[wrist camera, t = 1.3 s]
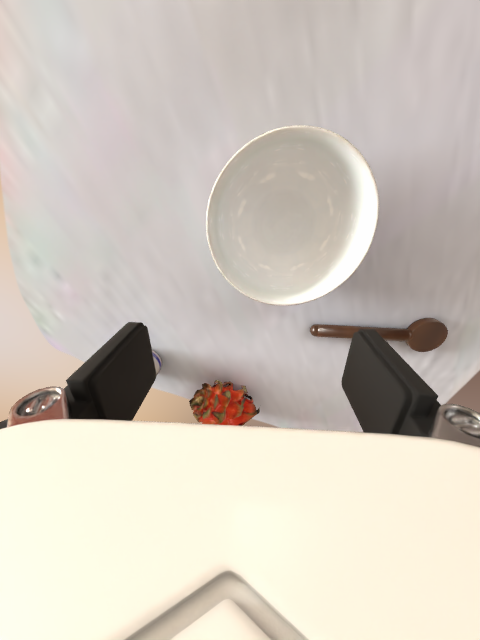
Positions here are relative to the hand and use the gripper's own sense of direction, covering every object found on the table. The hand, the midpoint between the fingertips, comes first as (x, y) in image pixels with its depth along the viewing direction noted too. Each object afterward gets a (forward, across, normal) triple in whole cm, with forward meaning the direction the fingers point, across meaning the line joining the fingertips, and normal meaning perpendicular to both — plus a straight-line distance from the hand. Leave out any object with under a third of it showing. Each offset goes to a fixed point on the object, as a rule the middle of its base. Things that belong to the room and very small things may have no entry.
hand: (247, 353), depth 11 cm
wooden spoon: (+23, -19, +11) cm, 32 cm away
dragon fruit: (+24, +4, +24) cm, 34 cm away
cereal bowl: (+23, -4, -4) cm, 24 cm away
